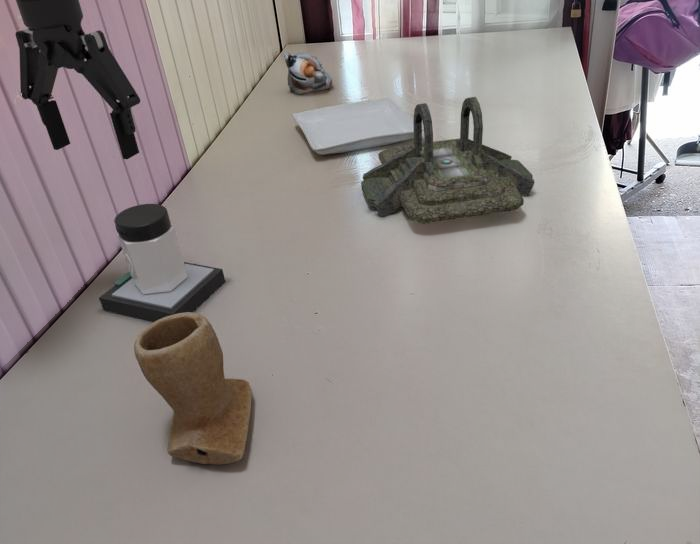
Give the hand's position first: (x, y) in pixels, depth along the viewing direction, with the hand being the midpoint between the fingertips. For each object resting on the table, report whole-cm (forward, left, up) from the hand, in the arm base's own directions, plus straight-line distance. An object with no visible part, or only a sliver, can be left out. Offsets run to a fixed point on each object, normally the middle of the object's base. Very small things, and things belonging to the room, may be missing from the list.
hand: (96, 151), depth 95 cm
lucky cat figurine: (-22, +108, -24) cm, 113 cm away
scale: (+6, -1, -24) cm, 25 cm away
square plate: (+7, +76, -24) cm, 80 cm away
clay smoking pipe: (+31, -25, -24) cm, 46 cm away
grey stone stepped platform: (+39, +50, -24) cm, 68 cm away
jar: (+6, -1, -21) cm, 22 cm away
